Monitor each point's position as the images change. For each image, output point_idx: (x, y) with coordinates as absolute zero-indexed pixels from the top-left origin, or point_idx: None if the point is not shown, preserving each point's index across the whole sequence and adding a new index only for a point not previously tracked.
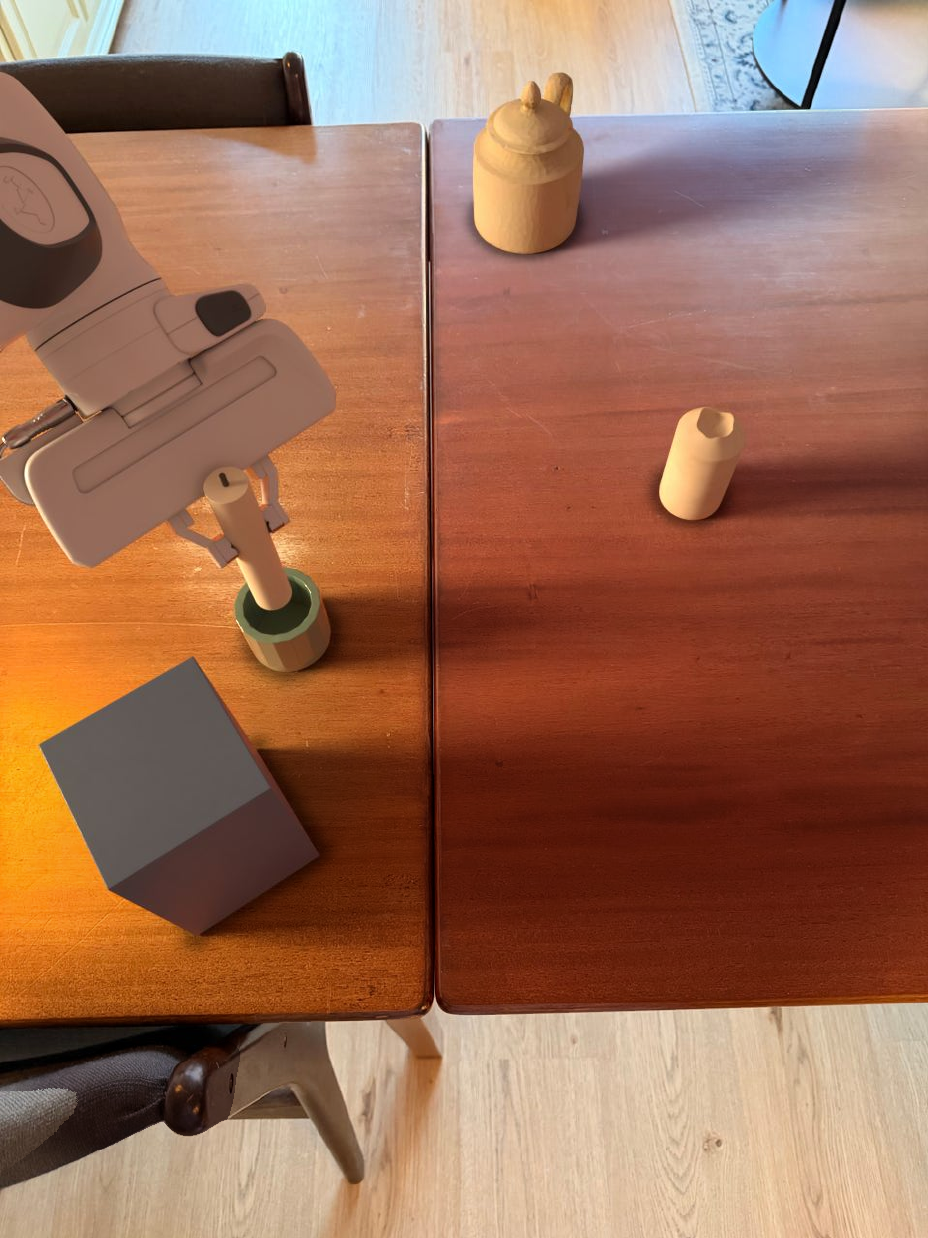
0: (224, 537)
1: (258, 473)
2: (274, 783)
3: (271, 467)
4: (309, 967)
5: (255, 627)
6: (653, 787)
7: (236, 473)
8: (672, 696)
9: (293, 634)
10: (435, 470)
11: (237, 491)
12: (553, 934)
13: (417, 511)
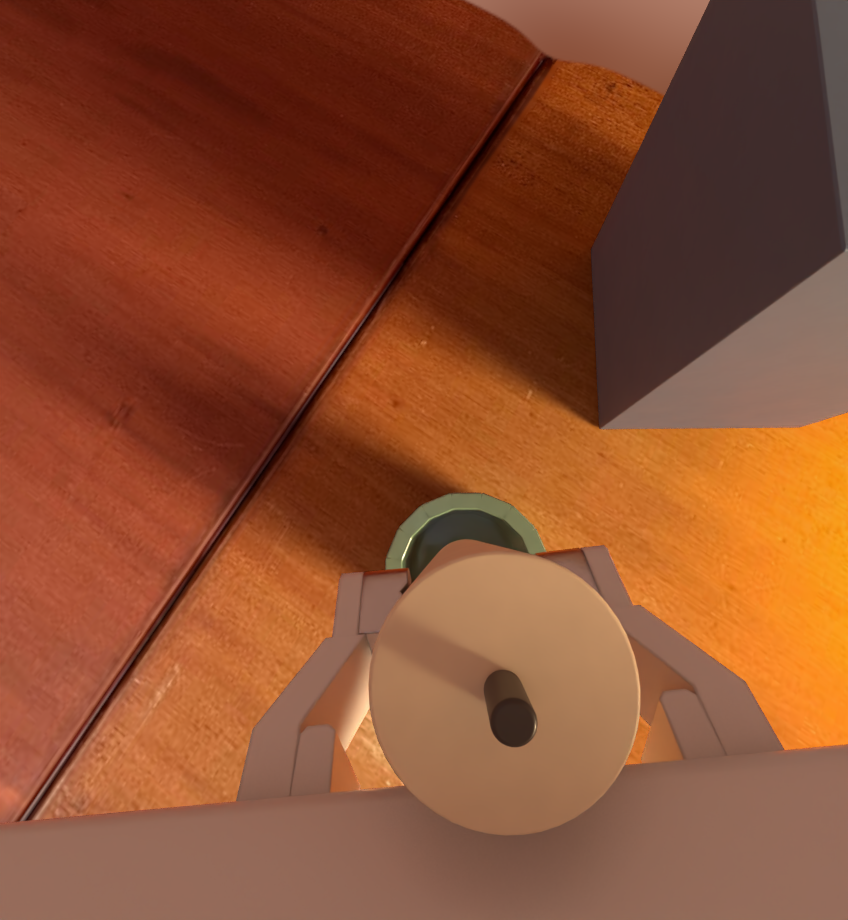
0: None
1: (323, 752)
2: (631, 271)
3: (264, 748)
4: None
5: None
6: (186, 109)
7: (412, 727)
8: (83, 187)
9: (472, 499)
10: (91, 707)
11: (469, 600)
12: (395, 36)
13: (166, 651)
